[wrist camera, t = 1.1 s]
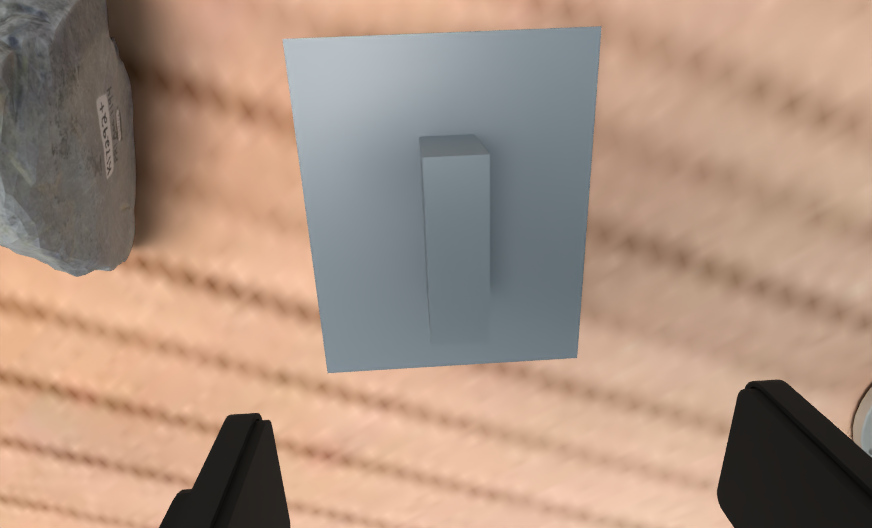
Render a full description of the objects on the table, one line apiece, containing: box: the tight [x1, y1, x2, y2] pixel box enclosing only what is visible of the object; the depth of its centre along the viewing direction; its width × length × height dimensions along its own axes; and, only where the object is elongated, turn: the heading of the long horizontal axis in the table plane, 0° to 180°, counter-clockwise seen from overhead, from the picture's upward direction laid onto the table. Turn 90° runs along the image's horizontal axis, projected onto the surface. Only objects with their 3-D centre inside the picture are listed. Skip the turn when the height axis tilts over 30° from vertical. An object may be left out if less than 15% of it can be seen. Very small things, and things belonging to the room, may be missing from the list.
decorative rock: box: [0, 0, 136, 277], centre depth 24 cm, size 16×7×15 cm, turn 170°
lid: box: [283, 26, 601, 373], centre depth 24 cm, size 17×14×7 cm
